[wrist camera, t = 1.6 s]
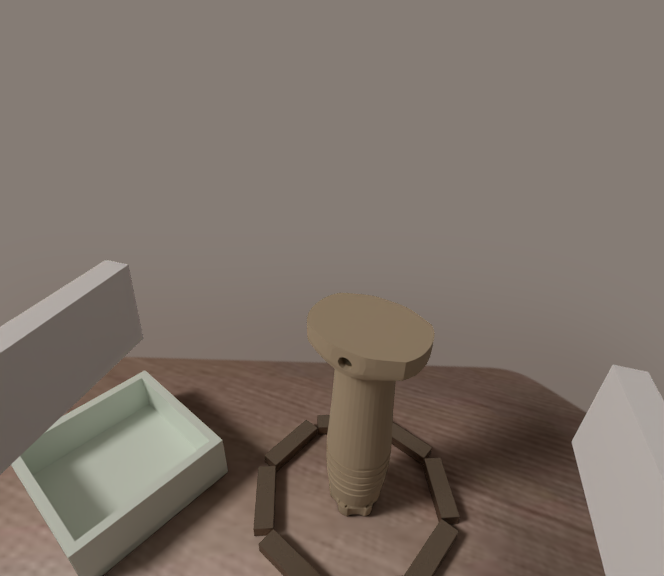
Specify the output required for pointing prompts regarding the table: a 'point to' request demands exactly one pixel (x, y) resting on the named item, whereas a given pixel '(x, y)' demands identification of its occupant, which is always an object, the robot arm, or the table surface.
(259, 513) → the collar ring
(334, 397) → the handle
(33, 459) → the bin
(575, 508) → the table surface
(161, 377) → the table surface
